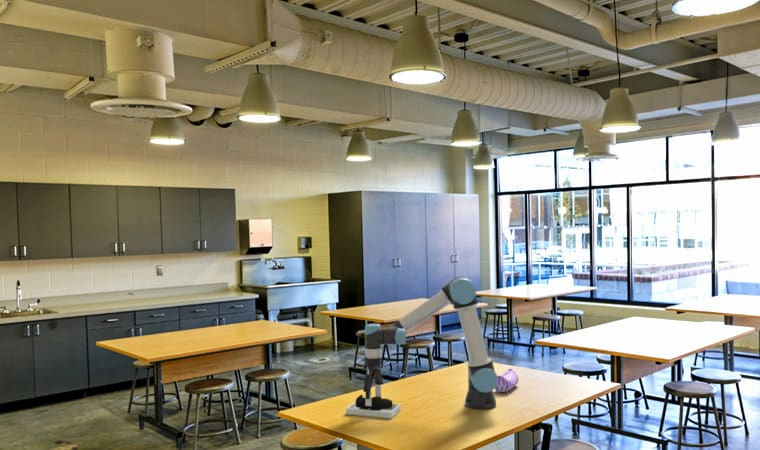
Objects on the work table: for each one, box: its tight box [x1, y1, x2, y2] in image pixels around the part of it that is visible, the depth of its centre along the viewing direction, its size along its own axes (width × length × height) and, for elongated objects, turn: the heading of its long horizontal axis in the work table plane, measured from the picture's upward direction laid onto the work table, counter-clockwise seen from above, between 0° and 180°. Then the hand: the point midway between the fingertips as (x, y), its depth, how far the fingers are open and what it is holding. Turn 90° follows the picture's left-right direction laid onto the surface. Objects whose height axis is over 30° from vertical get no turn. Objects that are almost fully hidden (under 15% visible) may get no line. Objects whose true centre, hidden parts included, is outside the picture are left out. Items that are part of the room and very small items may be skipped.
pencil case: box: [494, 368, 519, 393], centre depth 326 cm, size 22×9×10 cm, turn 154°
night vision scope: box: [355, 394, 393, 411], centre depth 283 cm, size 8×18×10 cm
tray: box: [345, 401, 402, 420], centre depth 284 cm, size 22×14×3 cm, turn 71°
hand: (373, 402), depth 284 cm, fingers open, 13 cm apart
